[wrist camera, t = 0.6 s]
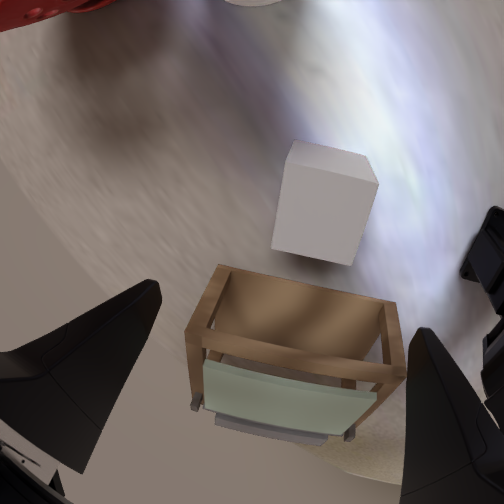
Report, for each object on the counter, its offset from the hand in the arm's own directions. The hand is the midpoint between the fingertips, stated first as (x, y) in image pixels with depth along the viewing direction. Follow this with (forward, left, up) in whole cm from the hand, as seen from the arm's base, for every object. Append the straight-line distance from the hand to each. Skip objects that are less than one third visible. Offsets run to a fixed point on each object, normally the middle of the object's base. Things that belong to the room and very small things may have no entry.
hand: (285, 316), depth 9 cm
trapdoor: (-2, +15, -4) cm, 16 cm away
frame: (-2, +14, -12) cm, 18 cm away
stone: (-1, 0, -12) cm, 12 cm away
